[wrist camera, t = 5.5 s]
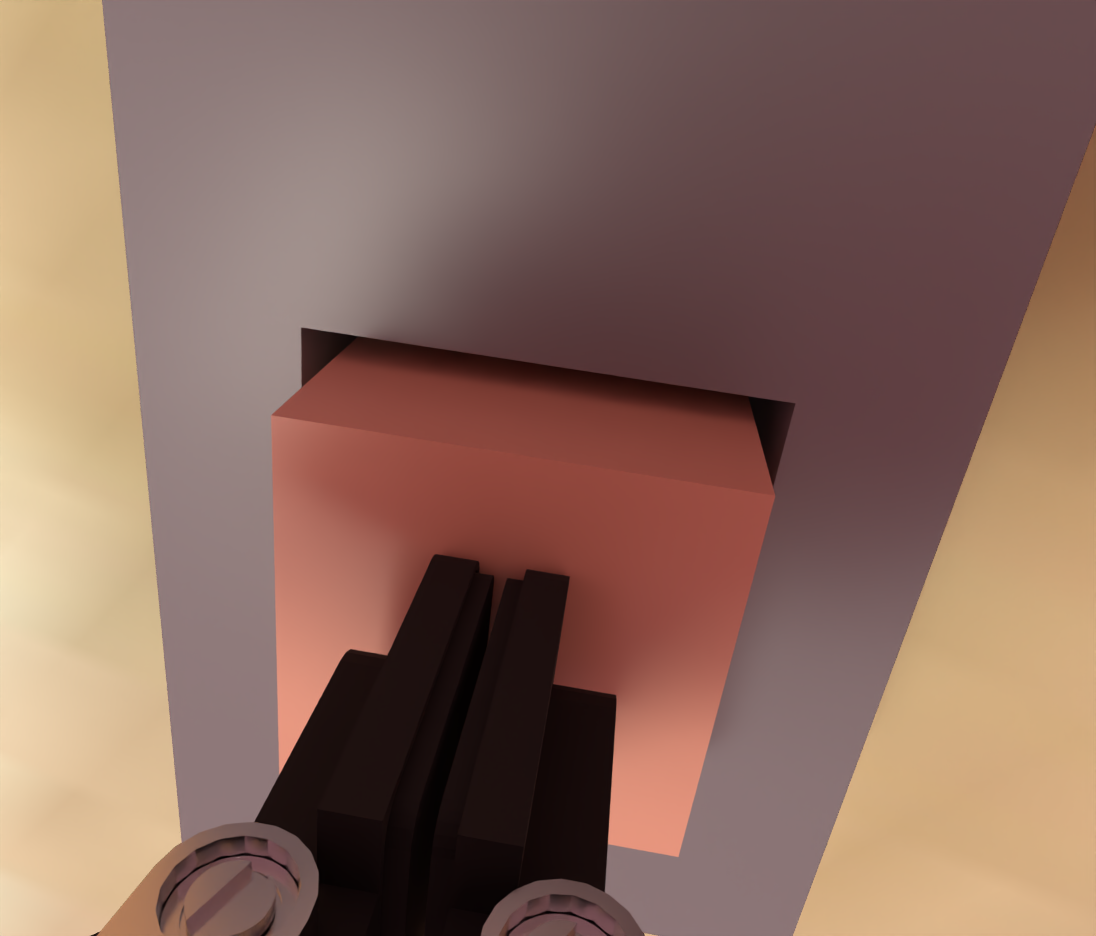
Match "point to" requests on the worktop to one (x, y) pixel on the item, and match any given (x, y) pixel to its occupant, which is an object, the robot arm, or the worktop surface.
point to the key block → (599, 315)
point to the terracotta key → (527, 536)
